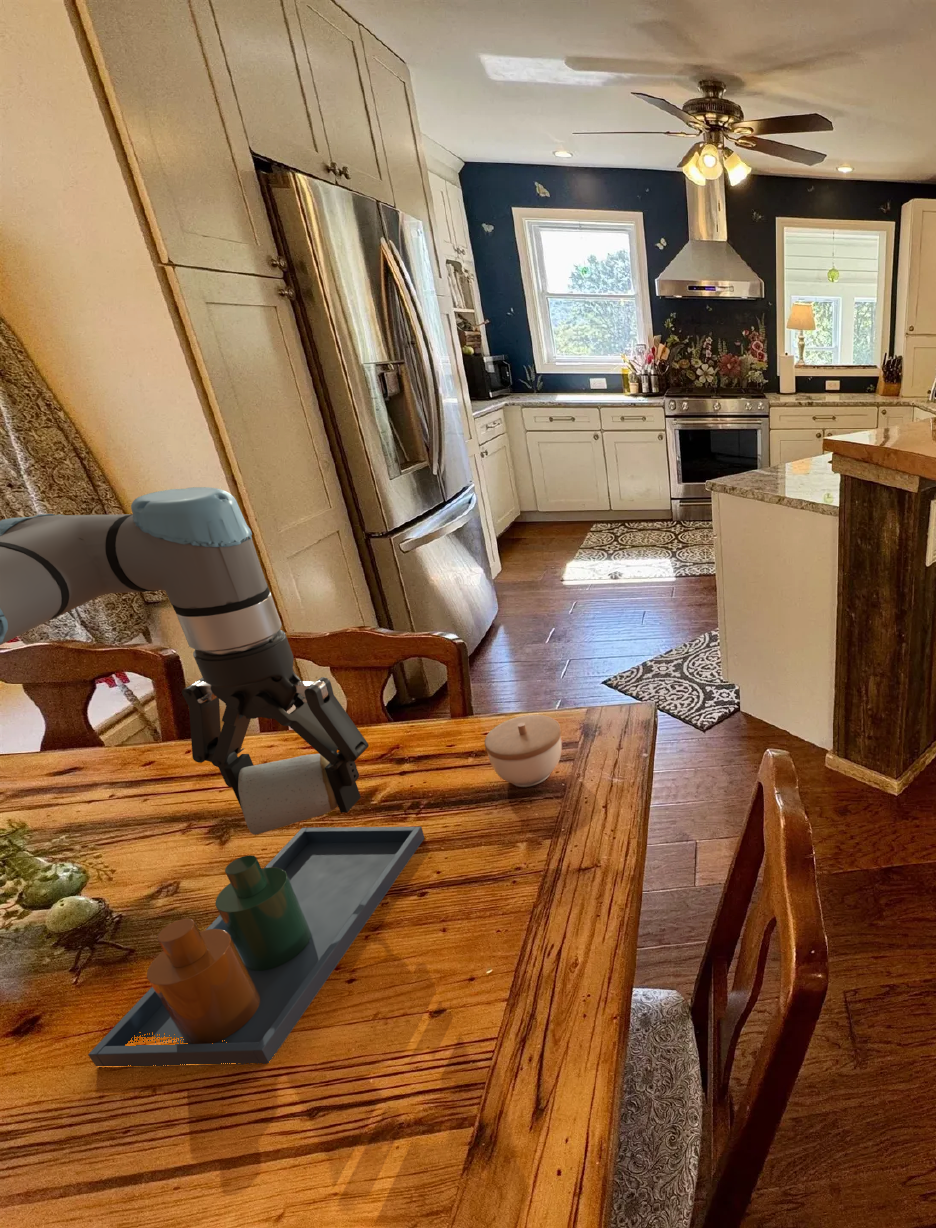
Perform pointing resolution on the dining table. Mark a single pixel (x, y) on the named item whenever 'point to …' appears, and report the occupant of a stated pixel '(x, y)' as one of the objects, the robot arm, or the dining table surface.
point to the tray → (335, 912)
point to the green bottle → (262, 914)
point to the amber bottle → (202, 982)
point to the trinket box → (525, 749)
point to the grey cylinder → (285, 792)
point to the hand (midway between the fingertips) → (303, 805)
